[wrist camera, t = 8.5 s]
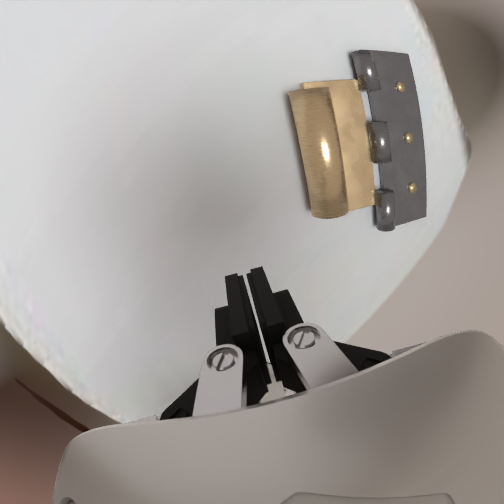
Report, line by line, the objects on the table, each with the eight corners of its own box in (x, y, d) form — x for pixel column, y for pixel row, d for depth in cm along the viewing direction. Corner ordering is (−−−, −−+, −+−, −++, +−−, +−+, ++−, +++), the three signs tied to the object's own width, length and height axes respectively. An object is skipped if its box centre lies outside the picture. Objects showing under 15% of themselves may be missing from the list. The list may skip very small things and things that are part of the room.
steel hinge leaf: (422, 214, 35) (433, 220, 32) (373, 229, 35) (383, 236, 32) (404, 54, 24) (416, 52, 22) (346, 50, 24) (356, 46, 22)
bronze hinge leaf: (371, 201, 33) (389, 211, 29) (307, 217, 33) (321, 230, 29) (353, 80, 26) (372, 76, 22) (281, 87, 26) (293, 80, 22)
